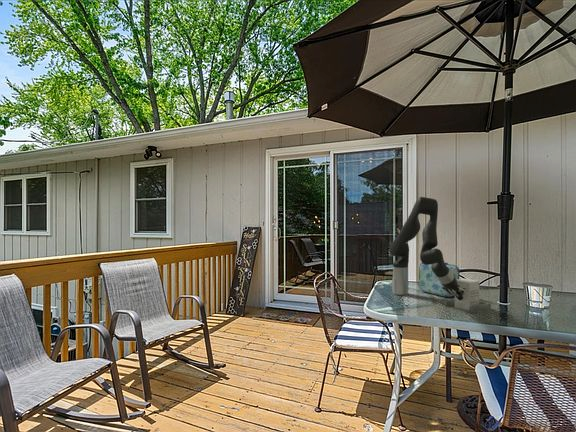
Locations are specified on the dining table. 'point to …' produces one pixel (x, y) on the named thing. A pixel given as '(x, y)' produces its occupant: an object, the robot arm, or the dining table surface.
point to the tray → (474, 309)
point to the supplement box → (468, 294)
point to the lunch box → (434, 279)
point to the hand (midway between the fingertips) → (460, 298)
